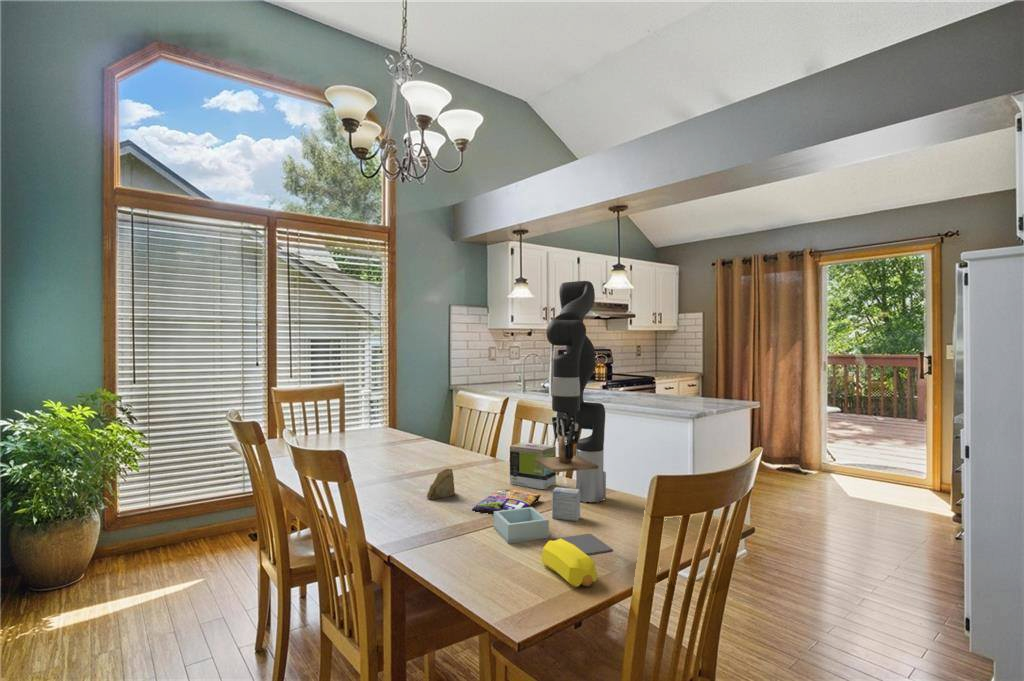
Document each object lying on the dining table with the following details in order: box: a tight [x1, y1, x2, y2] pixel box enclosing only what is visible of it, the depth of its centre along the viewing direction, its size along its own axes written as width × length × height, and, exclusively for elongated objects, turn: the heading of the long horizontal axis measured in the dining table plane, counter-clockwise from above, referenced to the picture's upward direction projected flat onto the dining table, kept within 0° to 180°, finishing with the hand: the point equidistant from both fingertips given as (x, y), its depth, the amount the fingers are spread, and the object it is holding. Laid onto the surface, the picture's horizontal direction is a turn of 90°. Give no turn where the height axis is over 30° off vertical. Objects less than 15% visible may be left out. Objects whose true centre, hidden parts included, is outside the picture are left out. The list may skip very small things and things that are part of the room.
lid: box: [534, 435, 598, 473], centre depth 145 cm, size 13×13×8 cm
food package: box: [471, 488, 542, 515], centre depth 176 cm, size 22×25×4 cm
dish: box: [493, 506, 550, 545], centre depth 152 cm, size 12×12×5 cm
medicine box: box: [551, 486, 581, 522], centre depth 165 cm, size 8×4×9 cm, turn 71°
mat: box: [551, 532, 614, 556], centre depth 143 cm, size 12×12×1 cm
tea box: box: [509, 441, 557, 490], centre depth 202 cm, size 15×10×15 cm, turn 58°
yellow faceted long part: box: [540, 537, 597, 588], centre depth 126 cm, size 18×7×8 cm
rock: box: [426, 468, 456, 500], centre depth 187 cm, size 11×9×10 cm
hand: (565, 456), depth 145 cm, fingers closed on lid, 3 cm apart
